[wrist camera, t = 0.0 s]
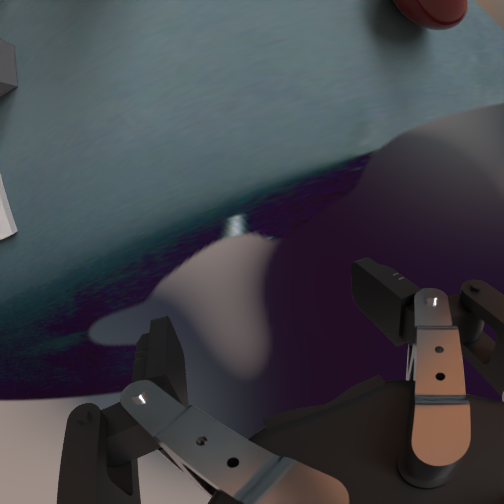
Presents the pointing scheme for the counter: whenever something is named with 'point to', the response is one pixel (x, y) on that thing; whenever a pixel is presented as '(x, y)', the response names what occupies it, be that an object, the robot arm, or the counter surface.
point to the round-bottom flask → (433, 12)
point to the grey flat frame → (5, 215)
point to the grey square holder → (7, 68)
